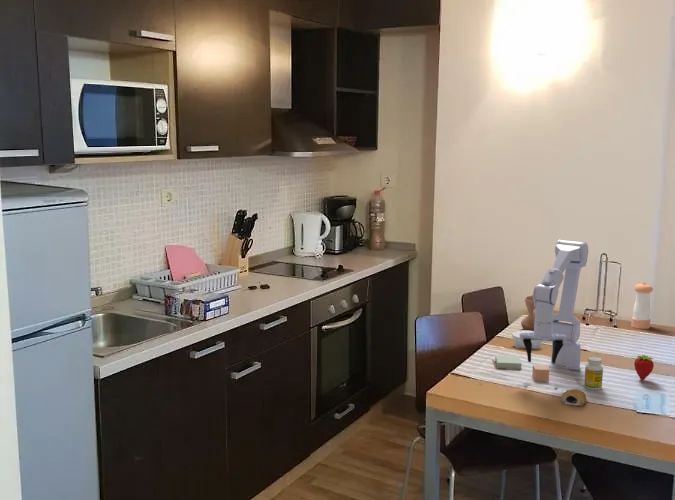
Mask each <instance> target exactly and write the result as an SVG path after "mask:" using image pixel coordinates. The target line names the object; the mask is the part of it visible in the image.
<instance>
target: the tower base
mask: <svg viewBox="0 0 675 500" xmlns="http://www.w3.org/2000/svg"><path fill="white" fill-rule="evenodd" d="M491 361H492V364H493V368H494V370H506V371H507V369H505V368H497V365H496V361H495V359H491Z"/></svg>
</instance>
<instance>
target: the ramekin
mask: <svg viewBox="0 0 675 500" xmlns="http://www.w3.org/2000/svg"><path fill="white" fill-rule="evenodd" d="M531 332H534V331H528V330H525V329H522V330H516V331H513V332H512V333H511V336H512V341H513V347H514V348H515V349H526V348H525V345H524V342H523V340H520V338H519V337H520V333H531ZM542 341H543V340H531V343H532V349H534V350H535V349H536V350H539V349H540V348H541V346H542Z"/></svg>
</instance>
